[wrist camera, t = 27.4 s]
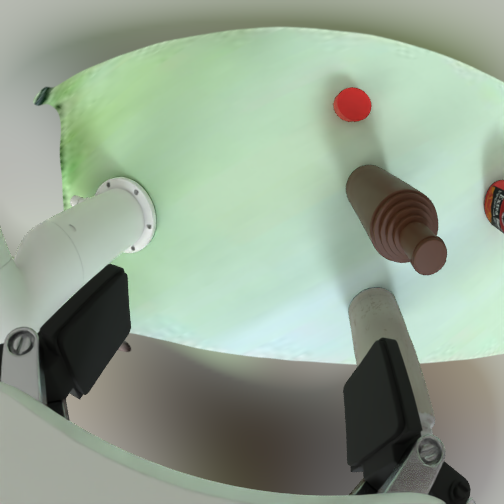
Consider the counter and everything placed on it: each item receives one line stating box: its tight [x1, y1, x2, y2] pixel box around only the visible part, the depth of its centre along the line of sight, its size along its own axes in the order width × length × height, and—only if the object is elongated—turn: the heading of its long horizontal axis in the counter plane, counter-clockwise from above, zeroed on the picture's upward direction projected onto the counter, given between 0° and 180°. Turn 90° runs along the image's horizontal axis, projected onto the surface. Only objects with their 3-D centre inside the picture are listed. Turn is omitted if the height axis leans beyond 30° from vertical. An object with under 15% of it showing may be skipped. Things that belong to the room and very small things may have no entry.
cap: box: [333, 87, 371, 122], centre depth 26 cm, size 4×4×4 cm
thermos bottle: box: [349, 288, 435, 436], centre depth 27 cm, size 8×8×28 cm
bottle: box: [346, 165, 447, 275], centre depth 23 cm, size 6×6×20 cm
